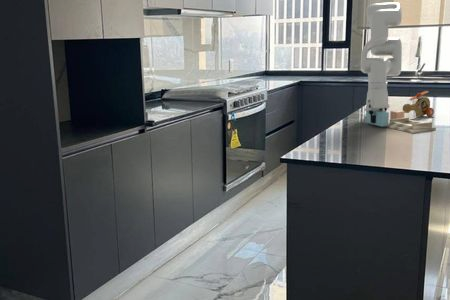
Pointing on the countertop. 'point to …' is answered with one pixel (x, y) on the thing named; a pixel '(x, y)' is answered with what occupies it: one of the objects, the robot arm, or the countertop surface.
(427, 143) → the countertop surface
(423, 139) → the countertop surface
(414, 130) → the jig
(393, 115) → the peach brick
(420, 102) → the toy helicopter
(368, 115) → the light blue block
